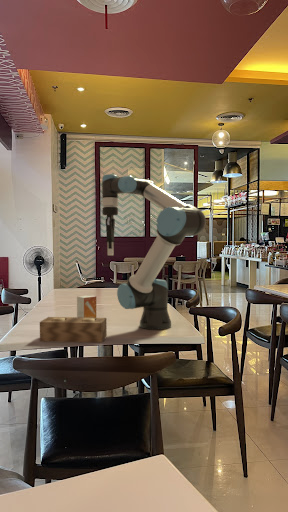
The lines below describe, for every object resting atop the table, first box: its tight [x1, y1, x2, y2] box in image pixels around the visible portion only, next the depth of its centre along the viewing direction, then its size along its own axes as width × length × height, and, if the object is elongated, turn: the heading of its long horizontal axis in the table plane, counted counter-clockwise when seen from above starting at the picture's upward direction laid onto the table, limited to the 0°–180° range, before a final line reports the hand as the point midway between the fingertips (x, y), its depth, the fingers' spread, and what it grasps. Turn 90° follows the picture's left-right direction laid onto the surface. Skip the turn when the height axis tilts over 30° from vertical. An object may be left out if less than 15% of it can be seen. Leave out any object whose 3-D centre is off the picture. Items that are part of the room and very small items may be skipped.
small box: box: [76, 294, 97, 318], centre depth 207 cm, size 8×6×13 cm
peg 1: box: [53, 318, 65, 321], centre depth 173 cm, size 5×5×8 cm
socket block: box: [39, 316, 108, 343], centre depth 172 cm, size 26×11×8 cm, turn 84°
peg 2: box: [83, 318, 95, 322], centre depth 171 cm, size 5×5×8 cm
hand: (110, 255), depth 198 cm, fingers closed
